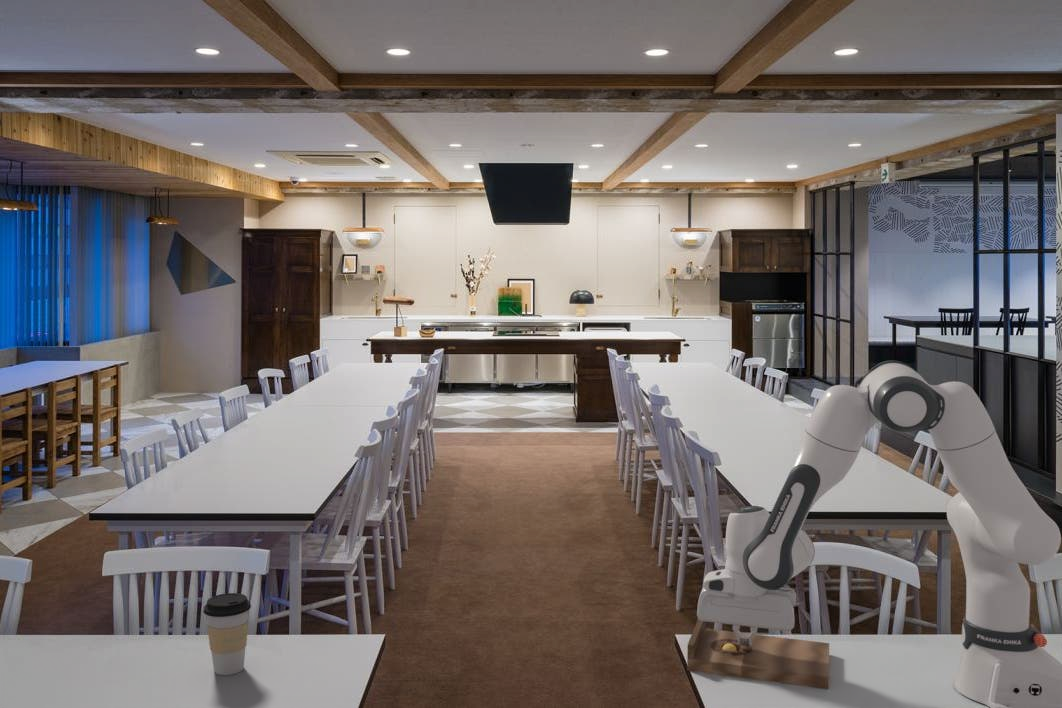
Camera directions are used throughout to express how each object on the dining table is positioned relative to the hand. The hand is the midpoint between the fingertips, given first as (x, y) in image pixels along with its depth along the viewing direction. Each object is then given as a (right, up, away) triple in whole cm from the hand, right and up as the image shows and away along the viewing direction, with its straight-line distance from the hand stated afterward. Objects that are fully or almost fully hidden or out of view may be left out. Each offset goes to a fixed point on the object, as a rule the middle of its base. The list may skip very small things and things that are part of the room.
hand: (744, 644), depth 194 cm
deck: (+3, -4, -1) cm, 5 cm away
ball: (-3, -2, +1) cm, 4 cm away
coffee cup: (-109, -4, -4) cm, 109 cm away
